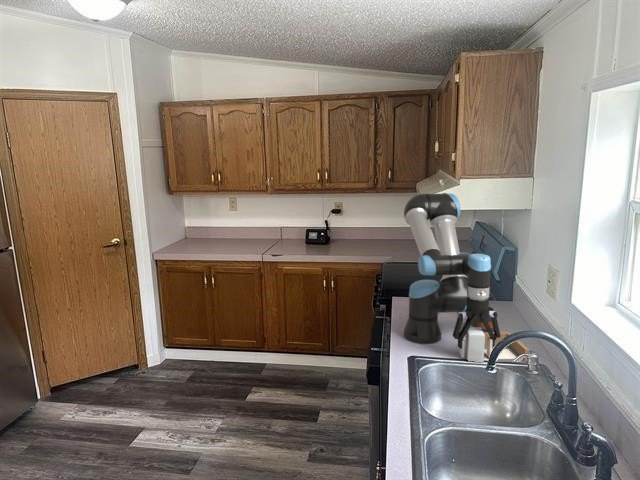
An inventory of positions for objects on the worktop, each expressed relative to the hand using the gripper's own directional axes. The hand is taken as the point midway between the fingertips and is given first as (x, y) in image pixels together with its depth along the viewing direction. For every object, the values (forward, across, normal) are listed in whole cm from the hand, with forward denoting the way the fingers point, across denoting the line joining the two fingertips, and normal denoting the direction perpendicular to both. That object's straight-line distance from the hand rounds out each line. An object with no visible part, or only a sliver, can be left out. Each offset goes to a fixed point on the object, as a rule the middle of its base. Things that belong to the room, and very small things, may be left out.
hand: (475, 355), depth 157 cm
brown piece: (+1, +11, +4) cm, 11 cm away
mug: (+1, +12, +22) cm, 25 cm away
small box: (+1, -1, 0) cm, 1 cm away
